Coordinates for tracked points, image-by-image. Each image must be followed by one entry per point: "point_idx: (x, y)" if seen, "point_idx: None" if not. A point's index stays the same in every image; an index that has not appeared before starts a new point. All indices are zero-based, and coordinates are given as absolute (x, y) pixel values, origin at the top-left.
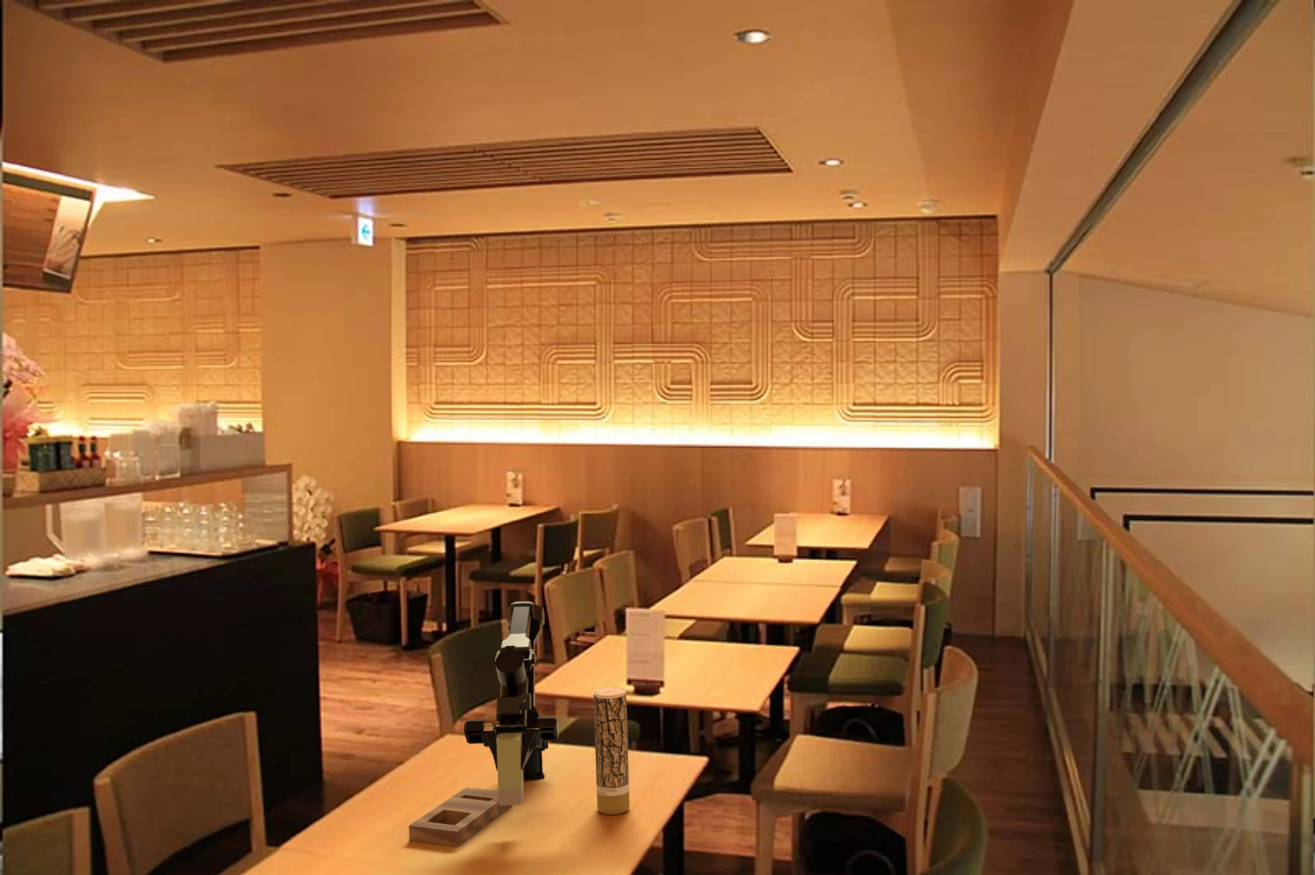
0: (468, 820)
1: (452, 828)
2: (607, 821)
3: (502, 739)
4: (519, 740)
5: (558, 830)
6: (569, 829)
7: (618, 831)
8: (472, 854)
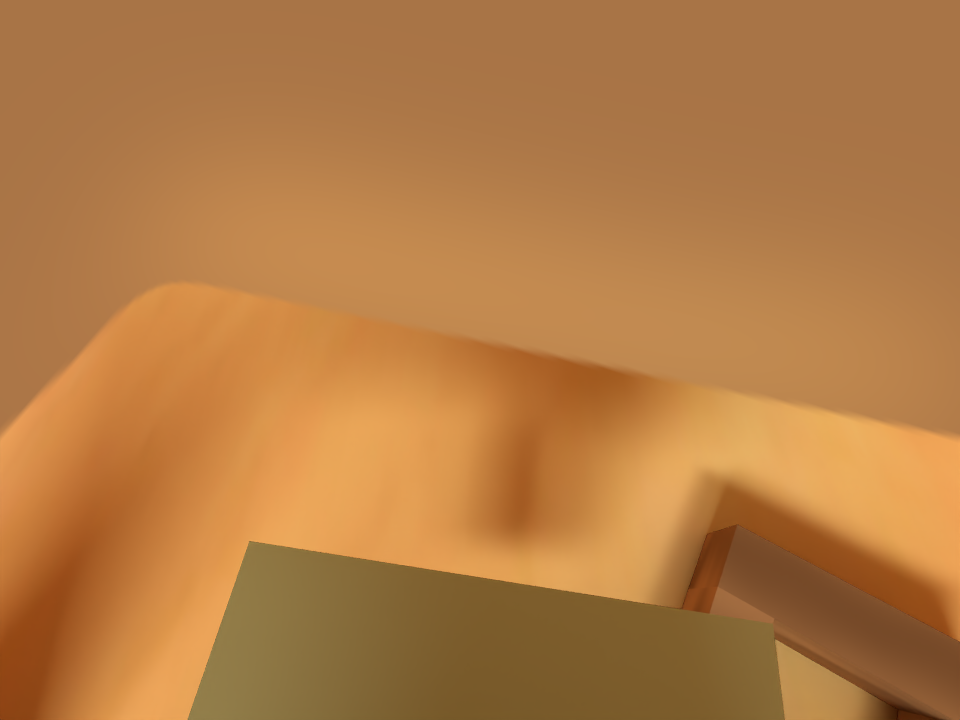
0: None
1: (773, 574)
2: (23, 684)
3: (637, 688)
4: (251, 558)
5: None
6: None
7: (44, 541)
8: (634, 449)
